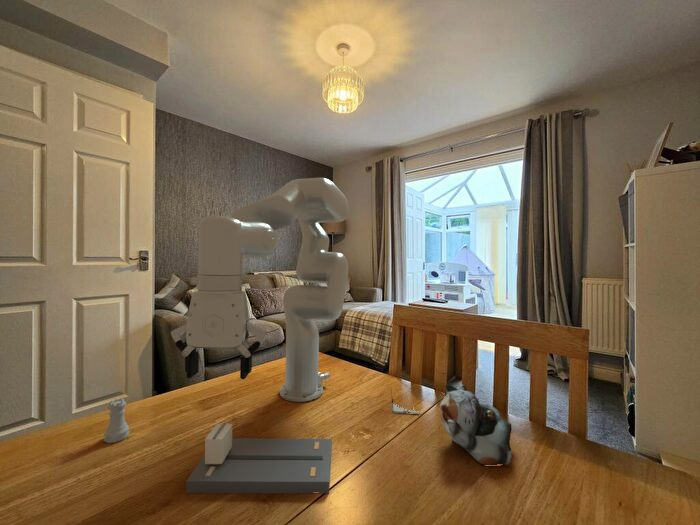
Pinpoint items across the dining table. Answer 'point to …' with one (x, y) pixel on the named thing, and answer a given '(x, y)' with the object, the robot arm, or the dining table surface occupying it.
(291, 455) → the grey slotted panel
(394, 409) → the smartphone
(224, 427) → the fader
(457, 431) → the lucky cat figurine
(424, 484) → the dining table surface
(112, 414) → the rook chess piece
